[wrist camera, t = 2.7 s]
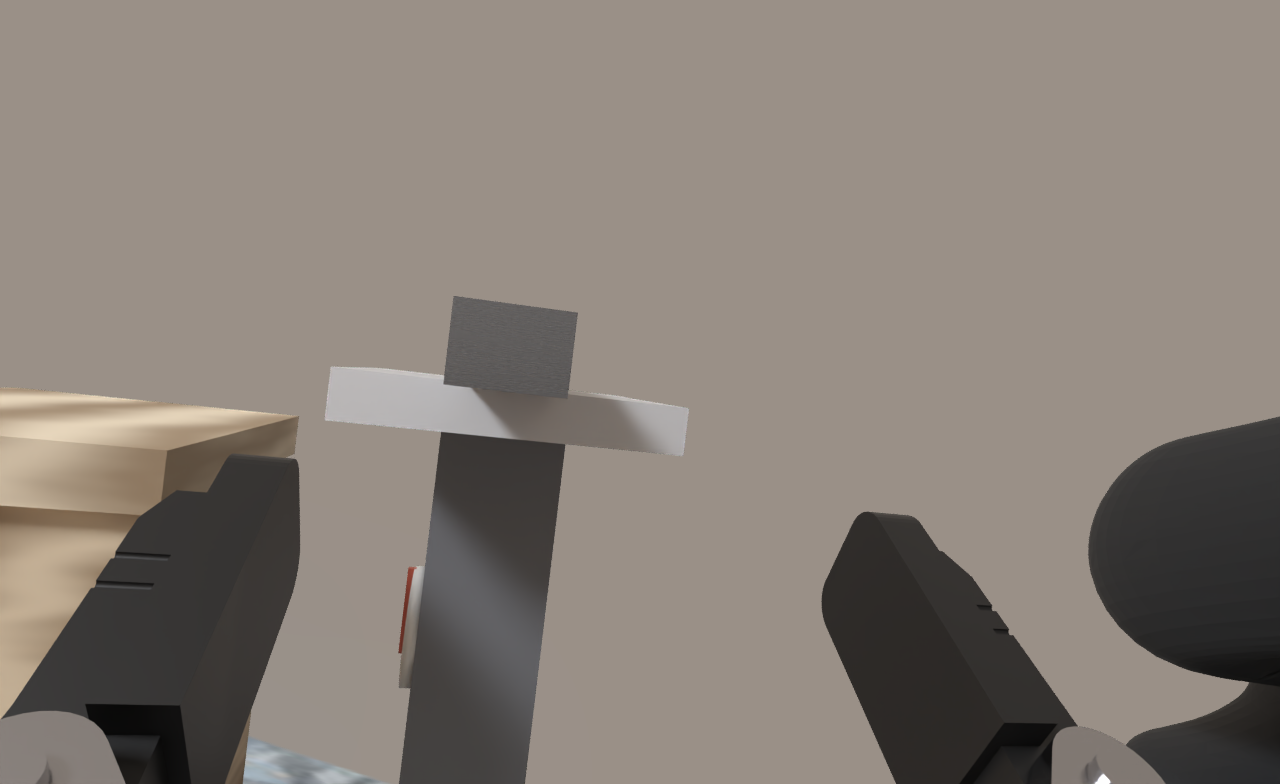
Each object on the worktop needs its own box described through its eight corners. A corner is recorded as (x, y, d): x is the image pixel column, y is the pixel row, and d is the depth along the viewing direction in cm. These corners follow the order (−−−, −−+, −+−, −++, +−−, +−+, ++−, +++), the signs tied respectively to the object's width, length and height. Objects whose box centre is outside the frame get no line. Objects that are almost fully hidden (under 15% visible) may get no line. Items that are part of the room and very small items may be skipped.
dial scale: (555, 898, 46) (615, 395, 46) (597, 1170, 30) (689, 408, 30) (318, 908, 43) (382, 368, 43) (229, 1218, 27) (330, 366, 27)
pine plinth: (234, 959, 38) (298, 416, 38) (54, 1403, 22) (167, 450, 22) (-57, 975, 36) (13, 387, 36) (-518, 1503, 19) (-389, 401, 19)
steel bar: (546, 387, 45) (551, 347, 45) (567, 398, 21) (577, 312, 21) (489, 380, 44) (494, 339, 44) (443, 384, 20) (453, 296, 20)
